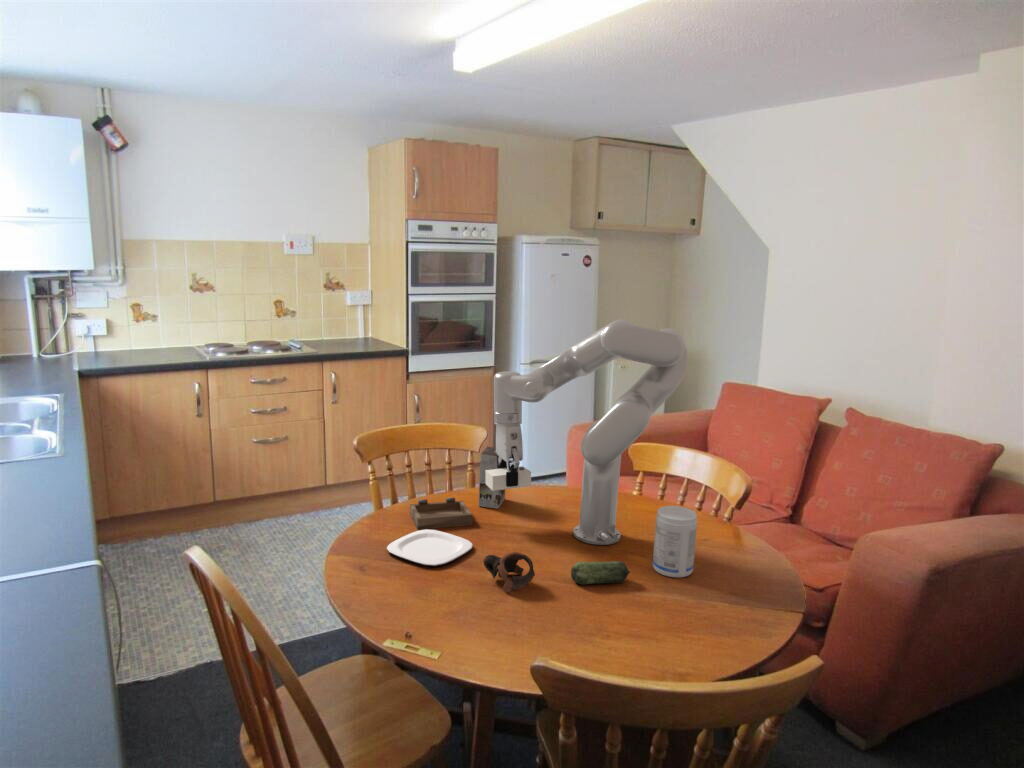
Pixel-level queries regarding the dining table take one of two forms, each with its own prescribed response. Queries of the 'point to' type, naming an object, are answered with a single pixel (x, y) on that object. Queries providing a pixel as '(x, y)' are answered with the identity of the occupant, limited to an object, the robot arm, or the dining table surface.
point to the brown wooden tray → (440, 514)
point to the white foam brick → (498, 478)
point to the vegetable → (599, 572)
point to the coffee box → (485, 493)
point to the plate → (430, 547)
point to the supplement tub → (674, 541)
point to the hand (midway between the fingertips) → (508, 481)
